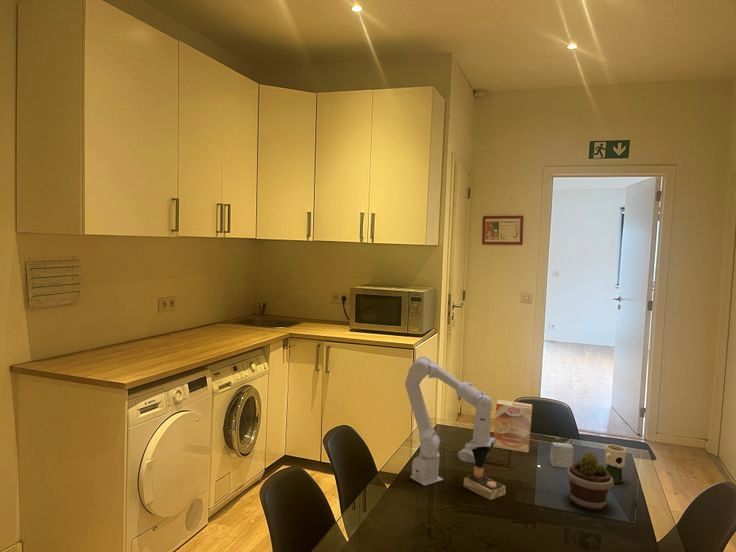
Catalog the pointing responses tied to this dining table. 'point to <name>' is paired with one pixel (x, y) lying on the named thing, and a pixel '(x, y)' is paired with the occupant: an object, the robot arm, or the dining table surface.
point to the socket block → (484, 487)
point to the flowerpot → (589, 483)
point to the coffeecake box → (512, 425)
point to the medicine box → (561, 455)
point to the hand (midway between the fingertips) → (479, 466)
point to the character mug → (615, 461)
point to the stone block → (467, 456)
